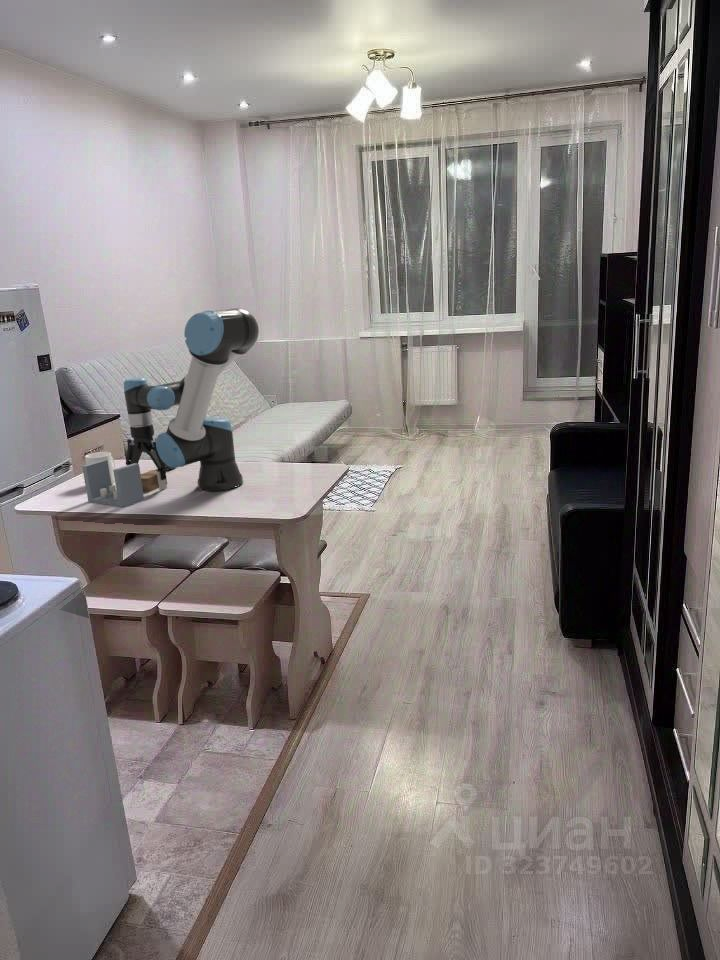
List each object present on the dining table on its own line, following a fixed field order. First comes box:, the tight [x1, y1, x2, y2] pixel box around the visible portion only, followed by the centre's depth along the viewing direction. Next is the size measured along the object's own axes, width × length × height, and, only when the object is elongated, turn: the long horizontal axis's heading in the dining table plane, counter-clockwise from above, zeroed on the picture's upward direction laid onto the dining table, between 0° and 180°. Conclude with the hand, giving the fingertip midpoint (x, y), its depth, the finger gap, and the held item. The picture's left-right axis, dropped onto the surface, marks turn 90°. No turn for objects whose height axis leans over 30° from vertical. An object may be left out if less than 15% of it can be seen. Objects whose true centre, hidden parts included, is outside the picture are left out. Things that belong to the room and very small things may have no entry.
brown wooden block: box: [140, 469, 168, 494], centre depth 245 cm, size 10×6×5 cm, turn 156°
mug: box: [84, 451, 116, 485], centre depth 255 cm, size 9×12×11 cm
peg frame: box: [81, 460, 145, 508], centre depth 232 cm, size 17×8×12 cm, turn 58°
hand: (150, 487), depth 246 cm, fingers open, 11 cm apart
